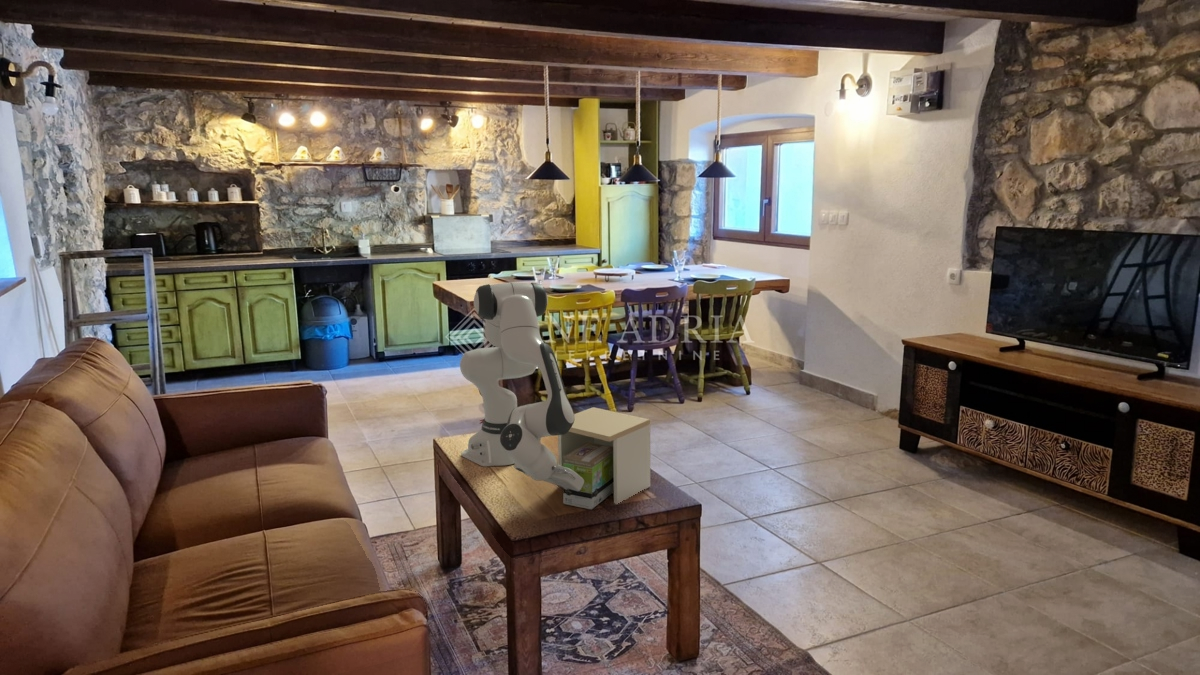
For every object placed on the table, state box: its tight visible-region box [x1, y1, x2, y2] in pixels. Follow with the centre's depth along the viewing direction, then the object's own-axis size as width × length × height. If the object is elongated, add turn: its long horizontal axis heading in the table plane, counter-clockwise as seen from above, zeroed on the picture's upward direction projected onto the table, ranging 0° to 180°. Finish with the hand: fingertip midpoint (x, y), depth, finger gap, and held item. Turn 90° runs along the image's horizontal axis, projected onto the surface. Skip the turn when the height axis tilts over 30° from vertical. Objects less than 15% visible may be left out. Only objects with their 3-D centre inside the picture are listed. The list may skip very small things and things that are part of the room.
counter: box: [557, 406, 651, 505], centre depth 231 cm, size 22×20×22 cm
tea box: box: [562, 443, 614, 510], centre depth 224 cm, size 15×10×15 cm, turn 154°
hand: (564, 486), depth 219 cm, fingers closed
